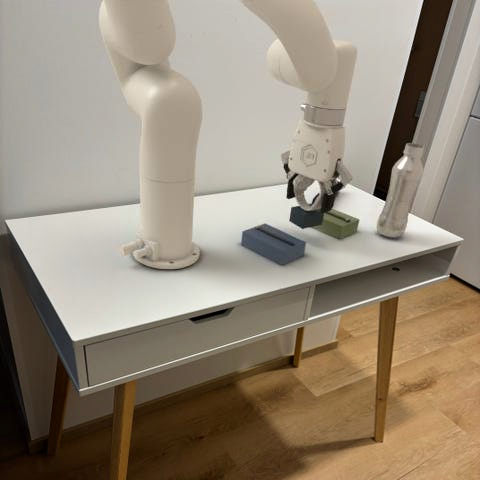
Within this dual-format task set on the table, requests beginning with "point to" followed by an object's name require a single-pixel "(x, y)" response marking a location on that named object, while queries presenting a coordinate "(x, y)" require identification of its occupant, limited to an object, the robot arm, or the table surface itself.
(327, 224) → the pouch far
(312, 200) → the electric trimmer
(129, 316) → the table surface
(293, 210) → the watch
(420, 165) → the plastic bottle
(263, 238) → the blue slotted block
